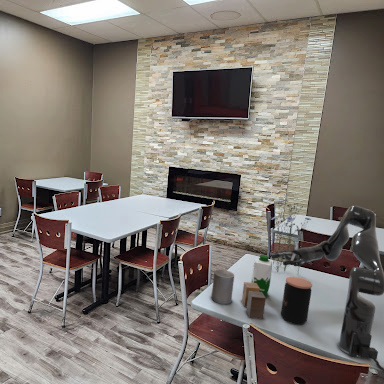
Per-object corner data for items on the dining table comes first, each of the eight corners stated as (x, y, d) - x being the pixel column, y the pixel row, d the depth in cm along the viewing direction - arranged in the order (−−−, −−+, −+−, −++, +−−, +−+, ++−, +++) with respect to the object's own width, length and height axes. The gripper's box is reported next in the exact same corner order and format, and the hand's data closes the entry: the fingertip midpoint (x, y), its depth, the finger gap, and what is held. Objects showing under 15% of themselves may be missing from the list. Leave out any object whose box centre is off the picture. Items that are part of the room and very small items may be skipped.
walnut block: (263, 319, 150) (265, 298, 149) (249, 317, 151) (251, 296, 149) (259, 312, 156) (262, 292, 155) (246, 310, 157) (248, 290, 155)
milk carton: (269, 293, 177) (273, 256, 174) (267, 299, 169) (272, 262, 166) (251, 288, 181) (256, 253, 178) (249, 295, 173) (253, 258, 170)
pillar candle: (207, 295, 170) (210, 267, 167) (224, 294, 173) (227, 266, 170) (218, 305, 161) (221, 275, 158) (235, 303, 164) (239, 274, 161)
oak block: (257, 308, 160) (259, 288, 159) (244, 306, 161) (246, 287, 159) (254, 302, 166) (256, 283, 164) (241, 300, 167) (243, 281, 165)
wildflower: (307, 280, 198) (318, 205, 191) (266, 274, 202) (276, 201, 195) (296, 266, 220) (306, 199, 213) (259, 262, 224) (268, 195, 217)
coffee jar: (284, 310, 159) (289, 274, 156) (309, 319, 153) (314, 281, 150) (277, 319, 151) (282, 281, 148) (303, 328, 144) (309, 289, 141)
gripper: (294, 243, 182) (268, 248, 178) (315, 253, 169) (288, 258, 165) (293, 256, 184) (268, 261, 180) (313, 267, 171) (287, 272, 167)
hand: (277, 260), depth 172 cm, fingers open, 8 cm apart
